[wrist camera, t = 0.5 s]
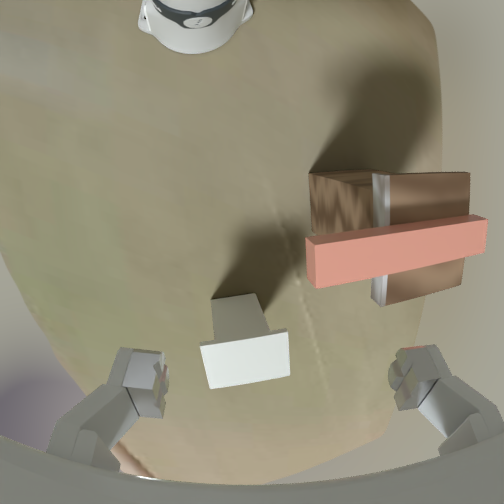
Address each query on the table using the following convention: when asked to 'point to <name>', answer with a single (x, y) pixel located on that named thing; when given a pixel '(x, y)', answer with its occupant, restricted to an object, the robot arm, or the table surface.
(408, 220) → the brown pedestal
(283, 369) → the stand
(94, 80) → the table surface
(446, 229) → the salmon pink flat bar
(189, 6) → the robot arm
